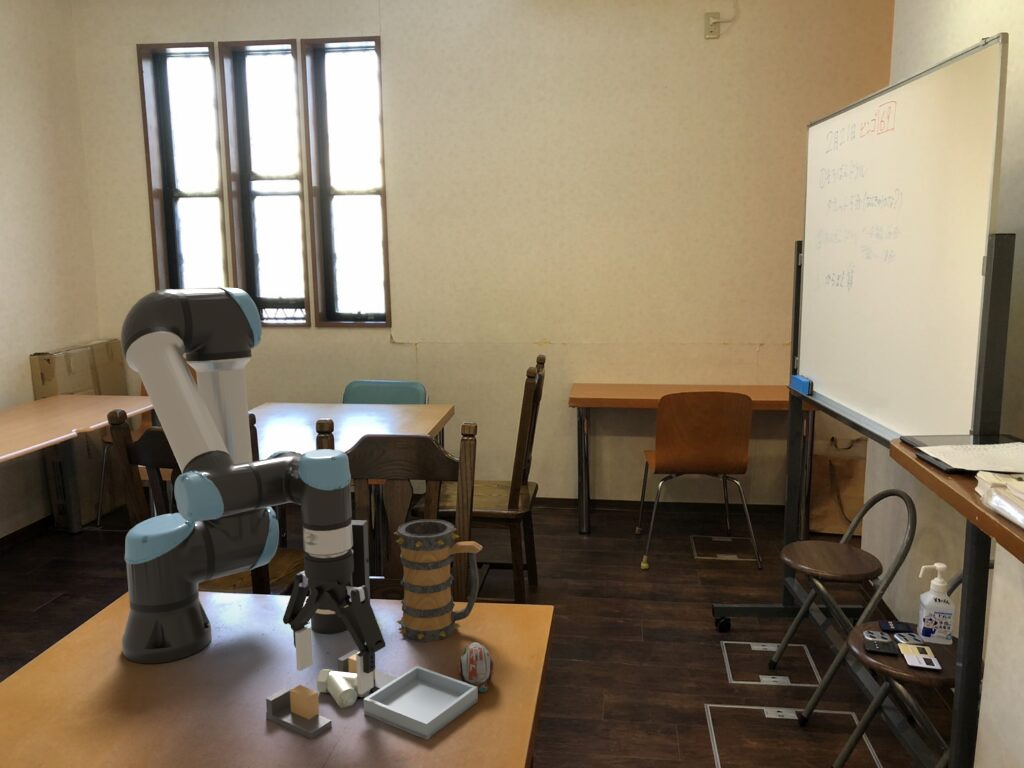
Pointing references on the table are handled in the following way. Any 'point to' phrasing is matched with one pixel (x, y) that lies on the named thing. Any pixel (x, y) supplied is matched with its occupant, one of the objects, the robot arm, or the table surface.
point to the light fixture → (328, 619)
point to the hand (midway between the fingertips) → (334, 678)
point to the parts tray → (421, 701)
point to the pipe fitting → (339, 686)
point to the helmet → (476, 665)
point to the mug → (432, 578)
